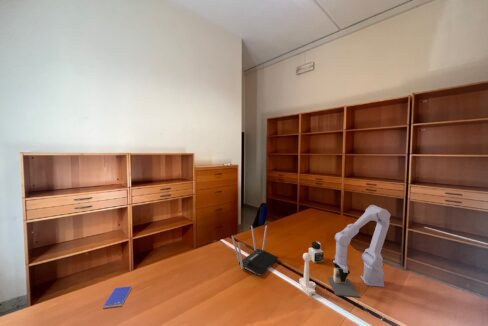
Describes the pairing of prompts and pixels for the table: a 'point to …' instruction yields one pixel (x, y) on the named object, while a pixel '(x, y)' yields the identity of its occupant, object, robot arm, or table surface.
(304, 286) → the joystick
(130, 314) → the table surface
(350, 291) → the mat
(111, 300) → the hard drive
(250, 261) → the wireless router
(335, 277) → the slab
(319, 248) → the medicine bottle
